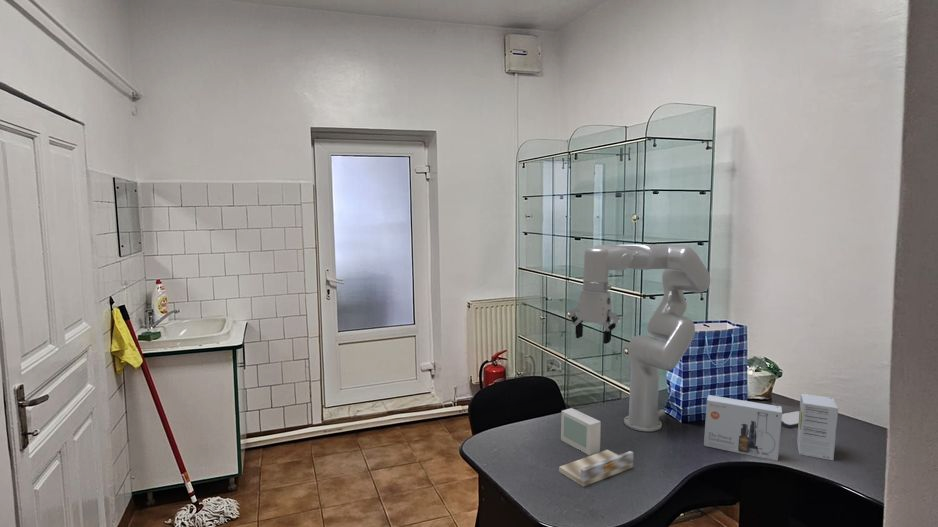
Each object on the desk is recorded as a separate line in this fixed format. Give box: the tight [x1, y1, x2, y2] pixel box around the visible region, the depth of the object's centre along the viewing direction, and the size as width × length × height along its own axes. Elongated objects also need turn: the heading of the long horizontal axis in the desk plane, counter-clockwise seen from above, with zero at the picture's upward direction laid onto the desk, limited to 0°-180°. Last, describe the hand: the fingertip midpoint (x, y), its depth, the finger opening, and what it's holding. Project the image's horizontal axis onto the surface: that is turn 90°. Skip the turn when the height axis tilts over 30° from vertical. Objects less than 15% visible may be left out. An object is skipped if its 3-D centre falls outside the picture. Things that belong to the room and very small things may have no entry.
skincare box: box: [703, 394, 783, 462], centre depth 174 cm, size 21×6×16 cm, turn 62°
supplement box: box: [796, 393, 839, 461], centre depth 173 cm, size 10×9×17 cm
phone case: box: [781, 410, 800, 429], centre depth 198 cm, size 9×2×16 cm
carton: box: [560, 407, 601, 456], centre depth 178 cm, size 5×13×10 cm, turn 33°
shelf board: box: [558, 449, 634, 487], centre depth 163 cm, size 20×10×5 cm, turn 123°
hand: (592, 340), depth 177 cm, fingers open, 9 cm apart
